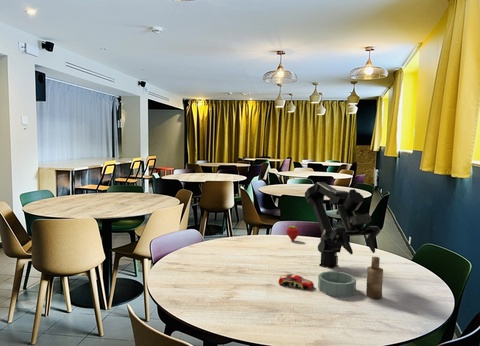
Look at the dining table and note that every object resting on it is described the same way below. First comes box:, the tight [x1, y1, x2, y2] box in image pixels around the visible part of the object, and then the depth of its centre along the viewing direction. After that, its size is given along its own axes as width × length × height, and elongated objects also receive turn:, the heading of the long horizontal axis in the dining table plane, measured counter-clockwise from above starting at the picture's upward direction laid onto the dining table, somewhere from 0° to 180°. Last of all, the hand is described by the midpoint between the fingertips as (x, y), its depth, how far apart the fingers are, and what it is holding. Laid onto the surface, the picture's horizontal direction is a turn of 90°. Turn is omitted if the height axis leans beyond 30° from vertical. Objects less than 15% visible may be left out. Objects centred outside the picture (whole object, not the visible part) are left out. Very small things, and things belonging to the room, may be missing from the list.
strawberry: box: [286, 225, 300, 242], centre depth 200 cm, size 6×8×10 cm
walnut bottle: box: [365, 256, 384, 301], centre depth 126 cm, size 5×5×14 cm
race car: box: [278, 273, 315, 291], centre depth 135 cm, size 13×5×4 cm, turn 66°
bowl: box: [317, 270, 357, 298], centre depth 132 cm, size 13×13×4 cm
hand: (363, 253), depth 133 cm, fingers open, 9 cm apart
